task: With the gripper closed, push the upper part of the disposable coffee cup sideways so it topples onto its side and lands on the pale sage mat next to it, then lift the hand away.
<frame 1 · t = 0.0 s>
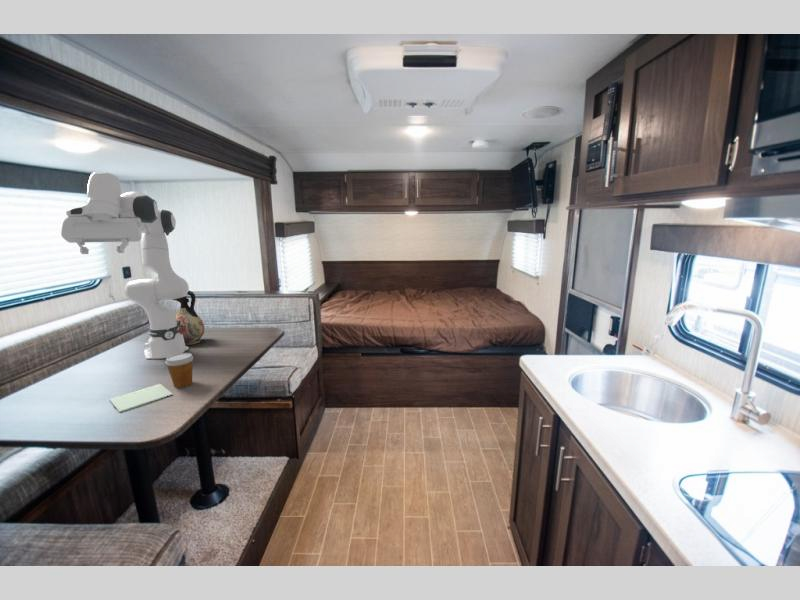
hand: (102, 252, 110), 54 cm above the table, tool tilted 30°, fingers open, 8 cm apart
disposable coffee cup: (183, 384, 136), on the table
ceramic jug: (191, 343, 187), on the table, touching arm
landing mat: (141, 397, 125), on the table
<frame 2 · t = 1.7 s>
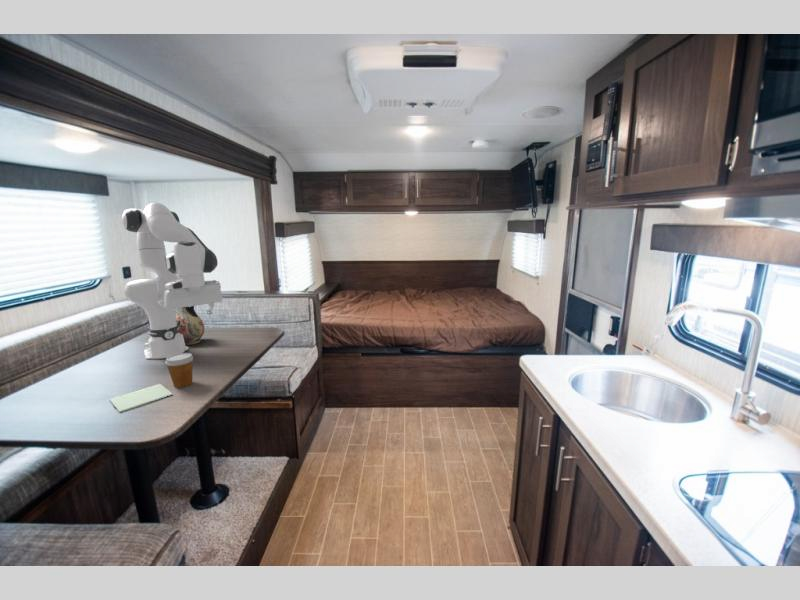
hand: (197, 316, 135), 27 cm above the table, tool pointing down, fingers open, 8 cm apart
nothing on the table moved.
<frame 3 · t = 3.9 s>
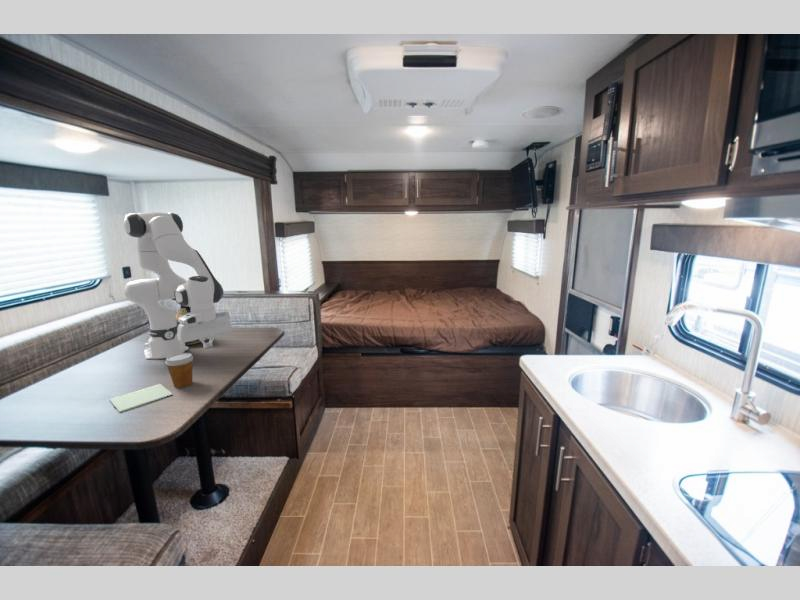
hand: (208, 347, 142), 13 cm above the table, tool pointing down, fingers closed
nothing on the table moved.
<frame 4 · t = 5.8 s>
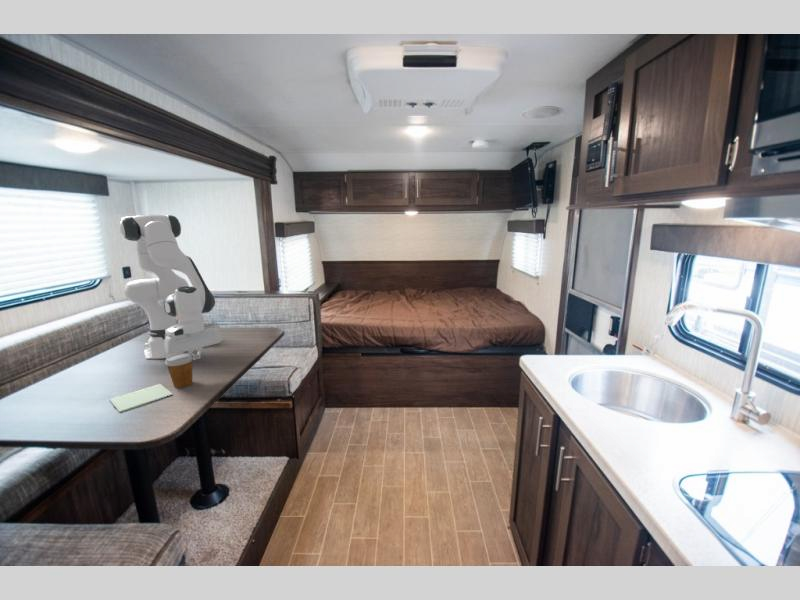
hand: (196, 358, 139), 9 cm above the table, tool pointing down, fingers closed
disposable coffee cup: (183, 384, 136), on the table, touching gripper
everything else where it was.
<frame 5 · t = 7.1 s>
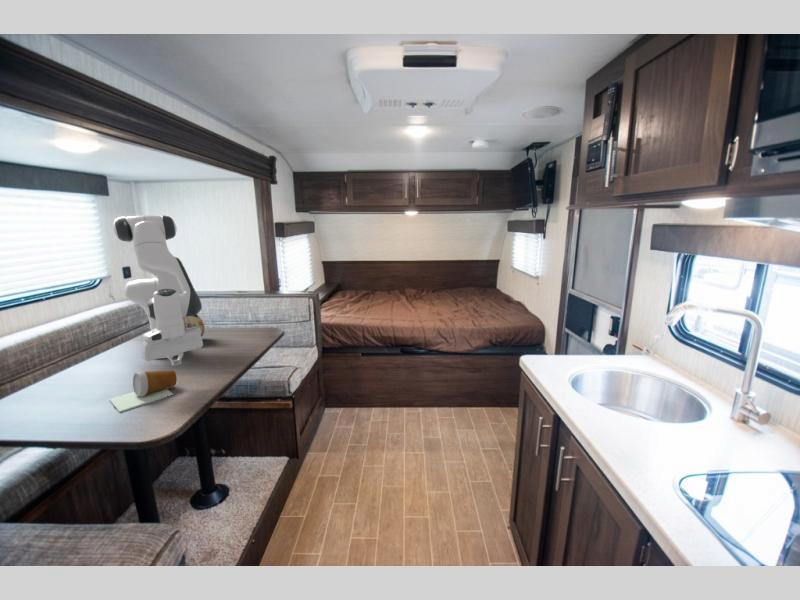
hand: (176, 364, 133), 9 cm above the table, tool pointing down, fingers closed
disposable coffee cup: (174, 377, 134), point 4 cm above the table, touching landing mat
everything else where it was.
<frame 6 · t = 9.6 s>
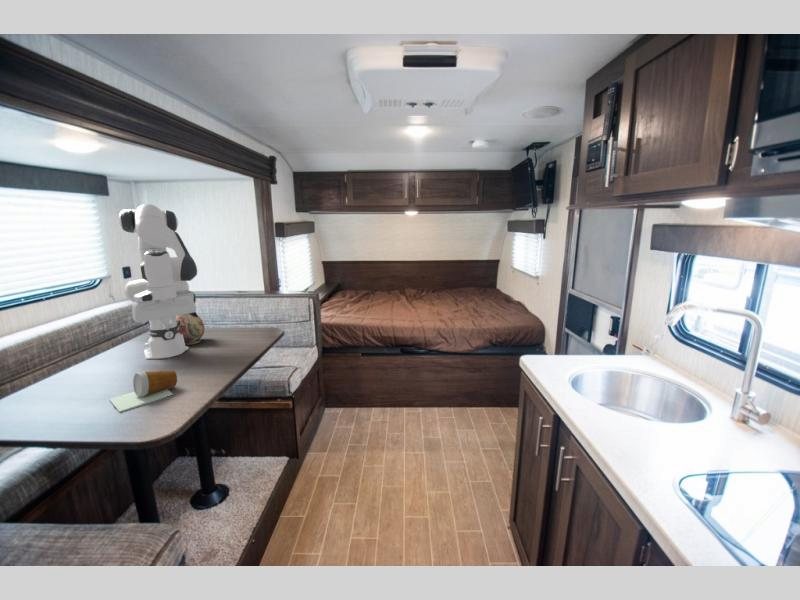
hand: (168, 328, 130), 24 cm above the table, tool pointing down, fingers closed
nothing on the table moved.
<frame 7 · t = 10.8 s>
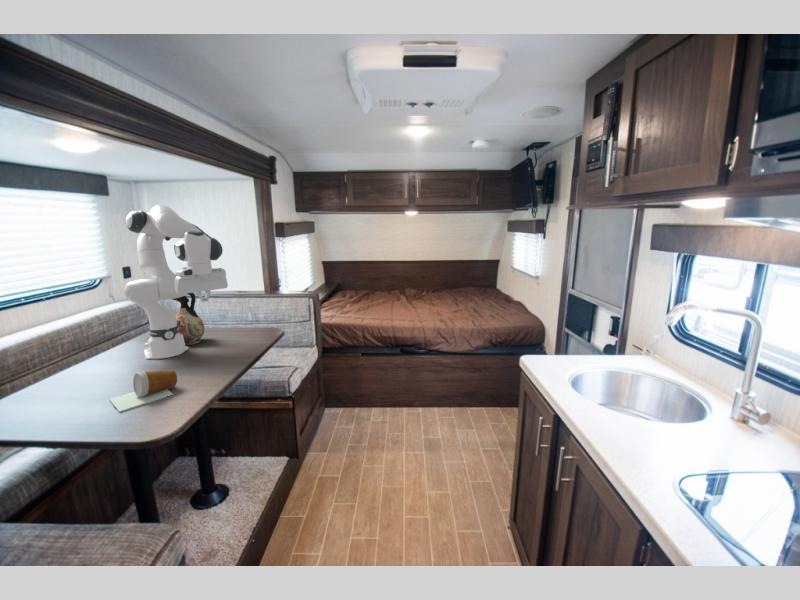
hand: (204, 301, 146), 31 cm above the table, tool pointing down, fingers closed
nothing on the table moved.
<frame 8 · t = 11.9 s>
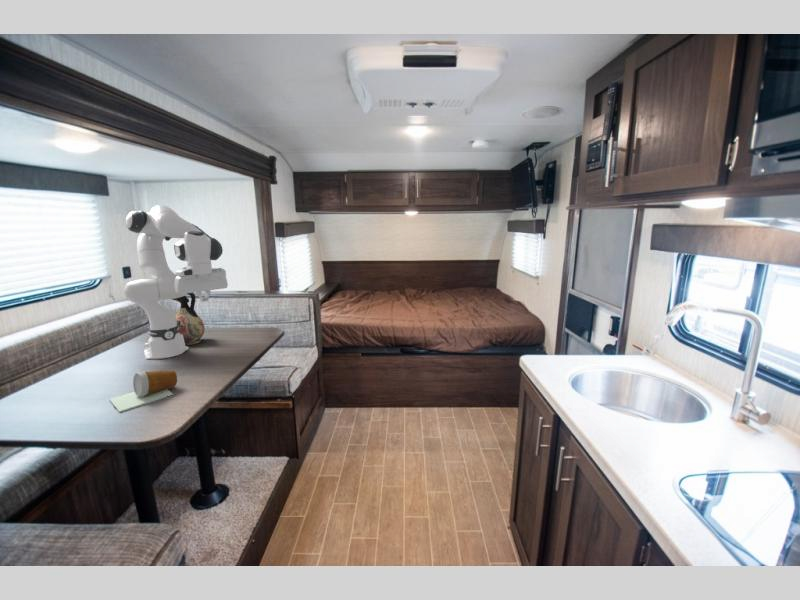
hand: (204, 301, 146), 31 cm above the table, tool pointing down, fingers closed
nothing on the table moved.
at the end: disposable coffee cup tilted 80°; disposable coffee cup inside the target area (4.0 cm from its centre), point 3.5 cm above the table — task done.
